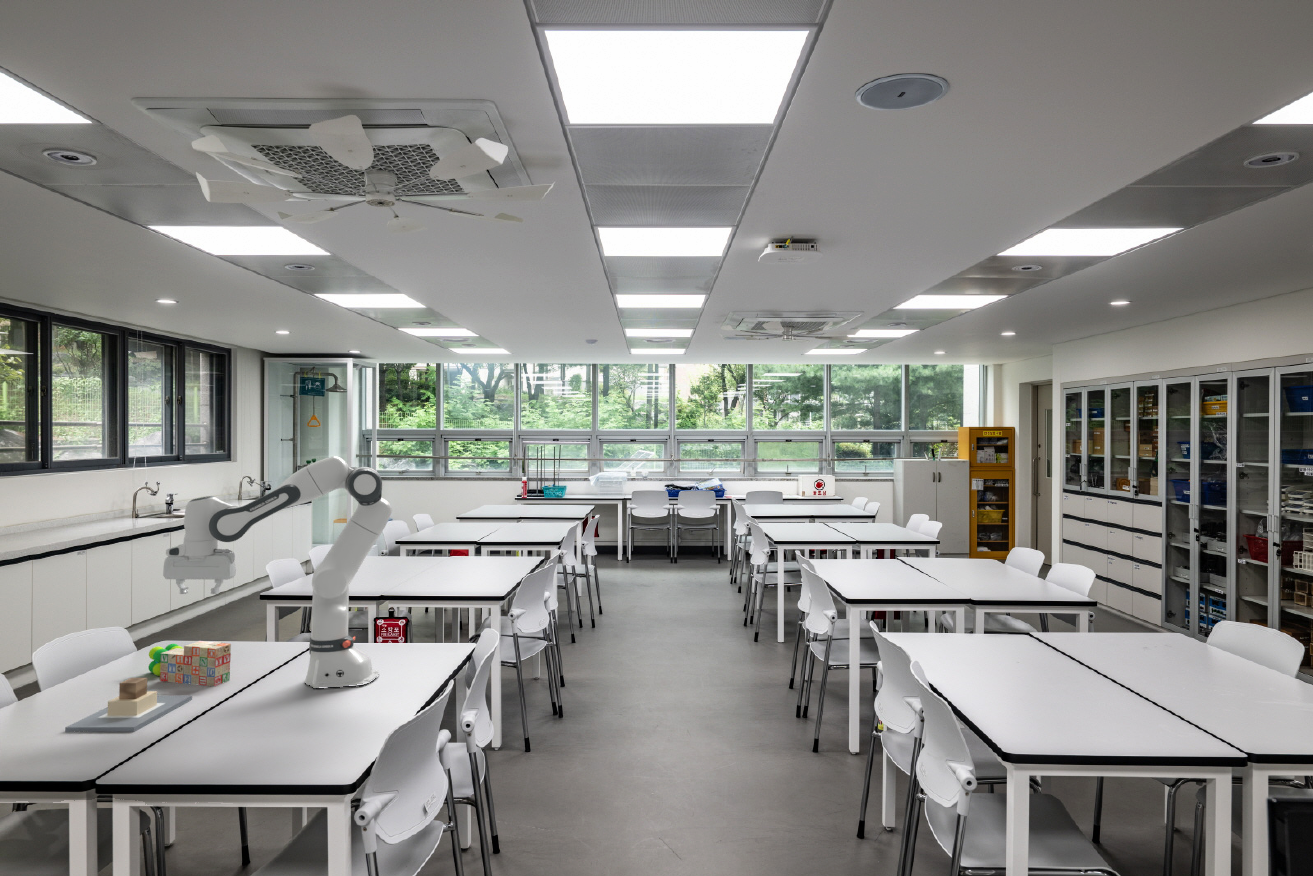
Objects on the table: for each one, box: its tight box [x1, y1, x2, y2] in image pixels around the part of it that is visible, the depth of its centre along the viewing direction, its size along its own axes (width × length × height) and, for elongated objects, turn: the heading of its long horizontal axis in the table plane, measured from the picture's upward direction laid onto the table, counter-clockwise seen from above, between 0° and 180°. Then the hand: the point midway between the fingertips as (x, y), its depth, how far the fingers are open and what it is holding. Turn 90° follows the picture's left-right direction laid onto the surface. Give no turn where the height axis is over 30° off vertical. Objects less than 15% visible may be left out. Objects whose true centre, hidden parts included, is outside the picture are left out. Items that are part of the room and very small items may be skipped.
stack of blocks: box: [159, 640, 232, 687], centre depth 224 cm, size 21×6×12 cm, turn 78°
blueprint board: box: [64, 690, 193, 733], centre depth 195 cm, size 18×24×5 cm
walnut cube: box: [118, 677, 148, 699], centre depth 195 cm, size 4×4×4 cm
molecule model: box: [148, 643, 184, 677], centre depth 232 cm, size 9×9×9 cm
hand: (199, 593), depth 212 cm, fingers open, 8 cm apart
